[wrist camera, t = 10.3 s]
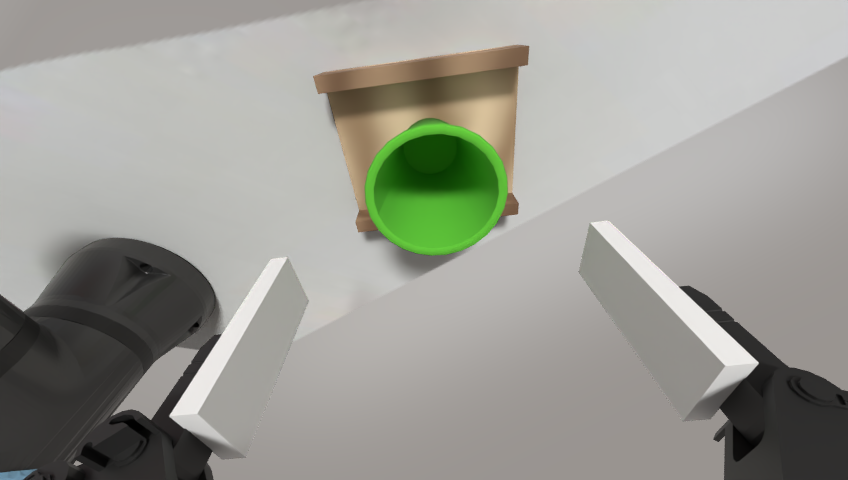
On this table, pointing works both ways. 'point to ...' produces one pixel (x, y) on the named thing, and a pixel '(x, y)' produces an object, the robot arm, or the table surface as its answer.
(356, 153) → the wooden tray
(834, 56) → the table surface
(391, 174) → the cup
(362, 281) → the table surface
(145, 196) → the table surface
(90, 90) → the table surface
